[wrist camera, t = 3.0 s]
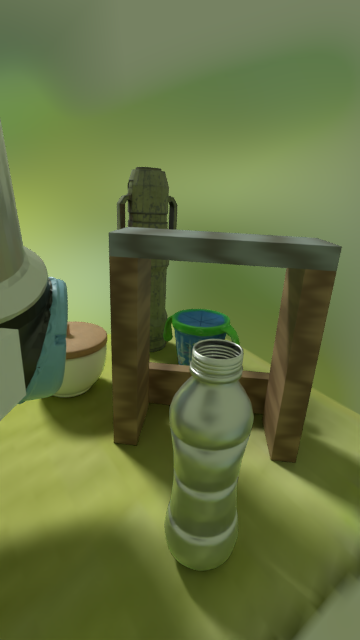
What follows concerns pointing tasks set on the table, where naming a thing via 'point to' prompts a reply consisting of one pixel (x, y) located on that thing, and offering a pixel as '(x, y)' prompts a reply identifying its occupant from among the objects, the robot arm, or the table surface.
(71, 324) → the lidded bowl
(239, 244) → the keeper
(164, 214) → the thermos
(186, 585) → the table surface
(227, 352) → the plastic bottle
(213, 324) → the snack cup
